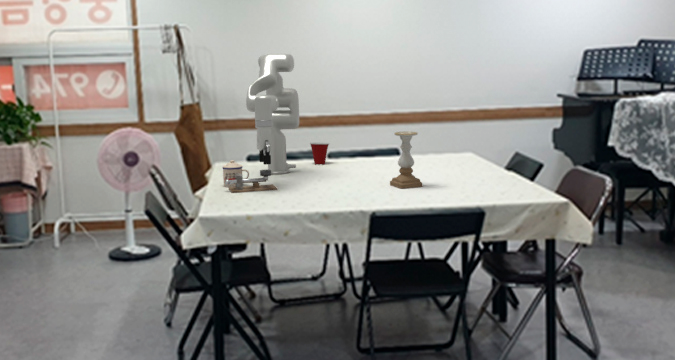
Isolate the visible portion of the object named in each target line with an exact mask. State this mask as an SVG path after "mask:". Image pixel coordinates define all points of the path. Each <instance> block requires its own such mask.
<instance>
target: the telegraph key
mask: <svg viewBox="0 0 675 360" xmlns="http://www.w3.org/2000/svg"><path fill="white" fill-rule="evenodd" d="M243 179H244V178H243V174H242V175H241V174H235V180H237V184H235V187H228V190H229V192H230V193H231V194H237V193H252V192H266V191H268V192H269V191H277V190H278V187H277V186H275V185H274V184H272V183H271V184H260V182H255V183H252V185H246V186H245V185H244V183H243Z"/></svg>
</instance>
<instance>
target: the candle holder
mask: <svg viewBox="0 0 675 360" xmlns="http://www.w3.org/2000/svg"><path fill="white" fill-rule="evenodd" d="M418 134H419V133H418V132H417V131H396V132H394V136H397V137H399V138H400V140H401V145H400V146H399V147H400V149H401V155H400V156H399V157H398V161H397V165H398V166H399V167H400V168H399V170H398V172H399V173H400V174H399V175H397V176H396V177H395V176H394V177H392V179H391V180H389V185H390V186H392V187H394V188H397V189H404V190H405V189H411V188H412V189H414V188H422V187H423V182H422V181H421V179H420V178H418V177H416V176H415V175H414V174H412V173H413V172H414V170H413V168H412V167H413V166H414V165H415V160H414V158H413V157H412V155H411V153H410V152H411V150H412V148H413V147H412V145H411V144H412V143H411V140H413V137H414V136H418Z"/></svg>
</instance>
